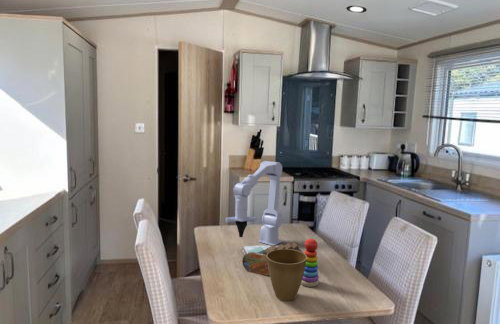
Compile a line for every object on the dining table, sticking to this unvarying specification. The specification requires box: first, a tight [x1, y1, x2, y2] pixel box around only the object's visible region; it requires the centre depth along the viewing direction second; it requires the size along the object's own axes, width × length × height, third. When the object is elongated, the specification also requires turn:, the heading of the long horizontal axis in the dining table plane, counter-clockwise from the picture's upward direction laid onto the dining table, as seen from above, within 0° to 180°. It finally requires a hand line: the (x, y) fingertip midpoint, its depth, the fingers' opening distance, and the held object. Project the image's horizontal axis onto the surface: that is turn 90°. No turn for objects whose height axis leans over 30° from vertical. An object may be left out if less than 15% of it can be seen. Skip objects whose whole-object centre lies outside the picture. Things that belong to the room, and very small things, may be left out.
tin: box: [241, 252, 270, 276], centre depth 162 cm, size 15×3×8 cm, turn 62°
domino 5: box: [290, 242, 300, 250], centre depth 184 cm, size 2×5×7 cm
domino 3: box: [276, 243, 285, 249], centre depth 183 cm, size 2×5×7 cm
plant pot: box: [266, 249, 307, 302], centre depth 141 cm, size 15×15×16 cm
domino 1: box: [247, 246, 265, 254], centre depth 182 cm, size 2×5×7 cm
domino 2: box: [263, 245, 277, 255], centre depth 183 cm, size 2×5×7 cm
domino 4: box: [283, 242, 293, 249], centre depth 184 cm, size 2×5×7 cm
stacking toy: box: [301, 238, 320, 288], centre depth 152 cm, size 8×8×19 cm
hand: (240, 236), depth 179 cm, fingers closed
